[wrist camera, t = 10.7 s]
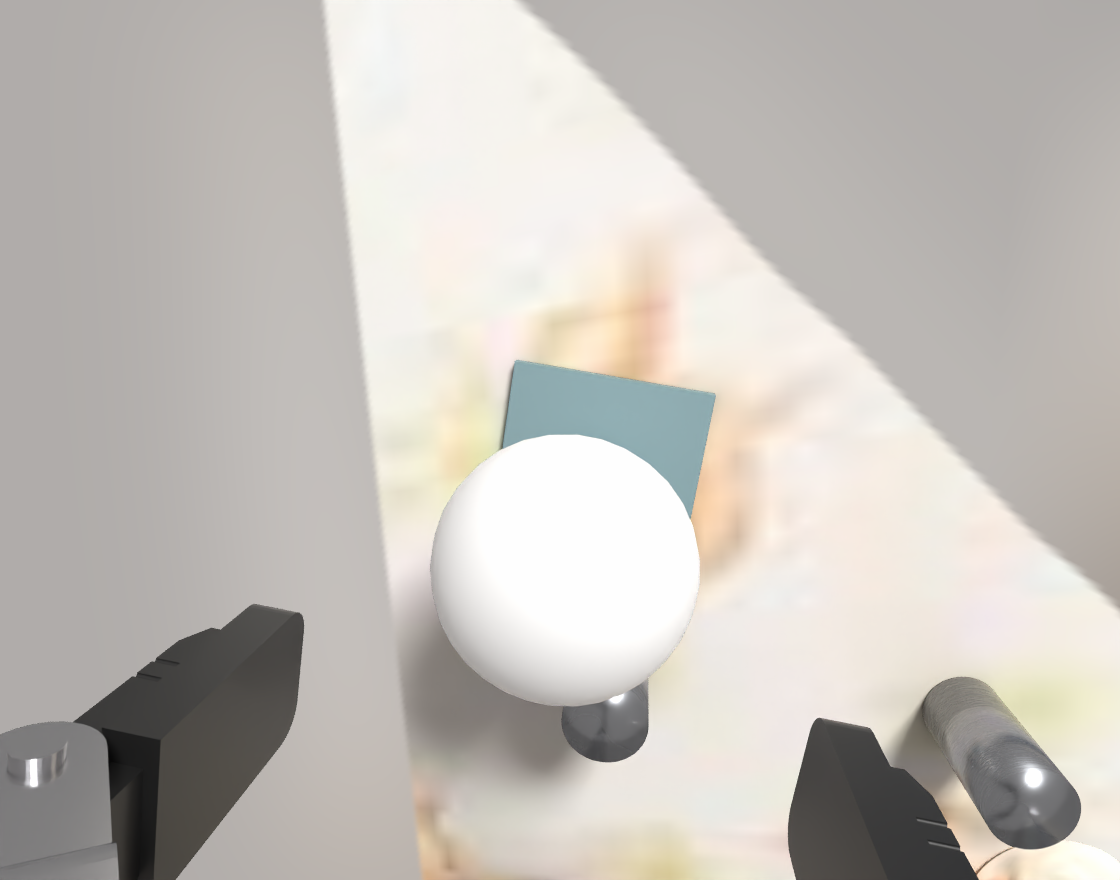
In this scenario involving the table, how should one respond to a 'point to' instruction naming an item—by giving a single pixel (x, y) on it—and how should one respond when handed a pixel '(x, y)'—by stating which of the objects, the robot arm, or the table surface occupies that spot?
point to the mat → (615, 417)
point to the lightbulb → (565, 570)
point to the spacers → (958, 728)
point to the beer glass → (1053, 864)
